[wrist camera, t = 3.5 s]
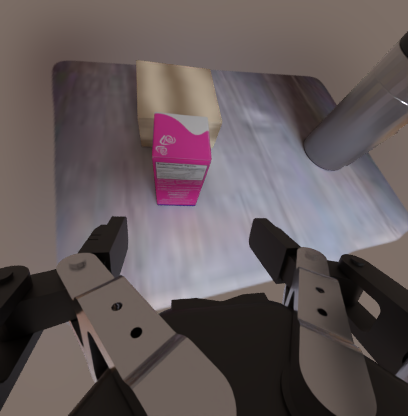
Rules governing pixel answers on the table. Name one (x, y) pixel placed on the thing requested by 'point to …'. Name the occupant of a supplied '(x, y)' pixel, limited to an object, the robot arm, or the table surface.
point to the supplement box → (180, 157)
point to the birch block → (175, 96)
